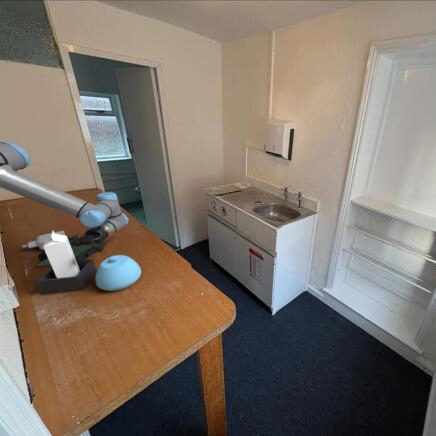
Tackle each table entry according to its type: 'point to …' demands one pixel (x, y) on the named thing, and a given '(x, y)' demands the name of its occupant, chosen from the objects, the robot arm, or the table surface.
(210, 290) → the table surface
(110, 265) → the sugar bowl
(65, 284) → the box
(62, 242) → the milk
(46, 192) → the robot arm
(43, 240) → the glue bottle
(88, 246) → the mat
